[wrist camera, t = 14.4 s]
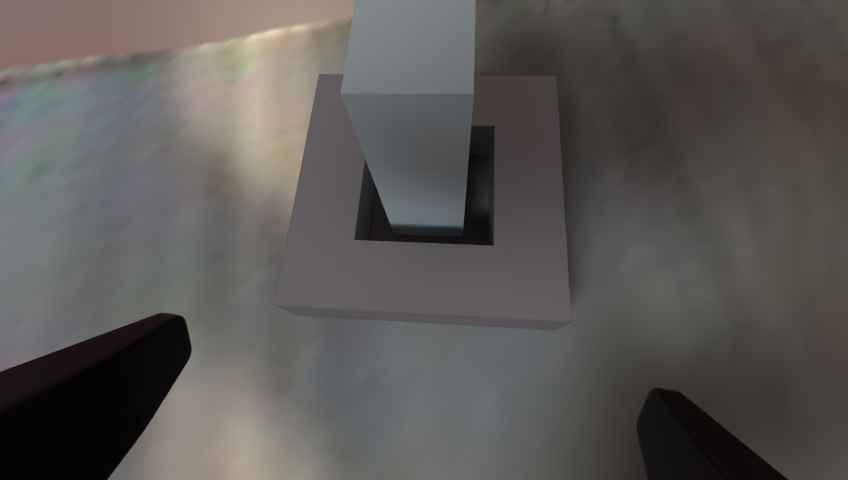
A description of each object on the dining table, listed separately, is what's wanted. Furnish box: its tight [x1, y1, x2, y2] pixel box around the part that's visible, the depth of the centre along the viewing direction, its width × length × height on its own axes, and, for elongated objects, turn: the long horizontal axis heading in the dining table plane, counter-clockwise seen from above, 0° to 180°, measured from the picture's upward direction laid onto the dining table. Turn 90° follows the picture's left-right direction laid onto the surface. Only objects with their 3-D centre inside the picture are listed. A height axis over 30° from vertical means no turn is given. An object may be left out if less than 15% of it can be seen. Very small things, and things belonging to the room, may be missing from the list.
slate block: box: [340, 0, 476, 237], centre depth 18 cm, size 4×4×12 cm
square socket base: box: [274, 74, 571, 330], centre depth 22 cm, size 14×14×3 cm
